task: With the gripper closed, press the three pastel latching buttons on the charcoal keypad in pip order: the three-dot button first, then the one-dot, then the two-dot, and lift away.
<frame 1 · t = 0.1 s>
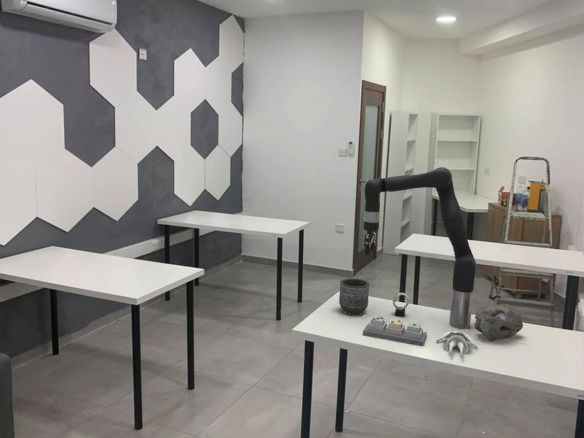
hand: (369, 252, 253), 29 cm above the table, tool pointing down, fingers open, 8 cm apart
watch: (399, 315, 253), on the table
fossil: (495, 337, 230), on the table
planter: (353, 311, 255), on the table
keypad: (394, 335, 227), on the table
figurine: (456, 348, 217), on the table
button two: (395, 325, 226), point 5 cm above the table, slide at 0.0 cm
button one: (414, 328, 223), point 5 cm above the table, slide at 0.0 cm
button three: (377, 322, 229), point 5 cm above the table, slide at 0.0 cm
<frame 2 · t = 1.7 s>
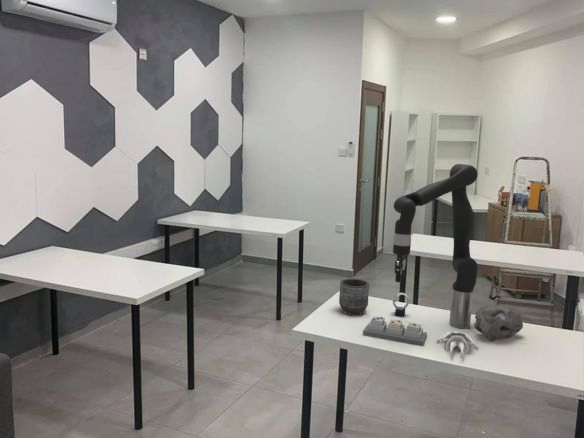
hand: (399, 280, 229), 23 cm above the table, tool pointing down, fingers open, 5 cm apart
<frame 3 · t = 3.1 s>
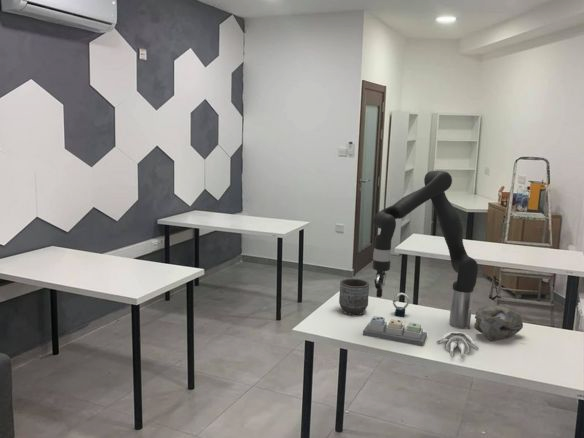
hand: (379, 296, 227), 17 cm above the table, tool pointing down, fingers closed
nothing on the table moved.
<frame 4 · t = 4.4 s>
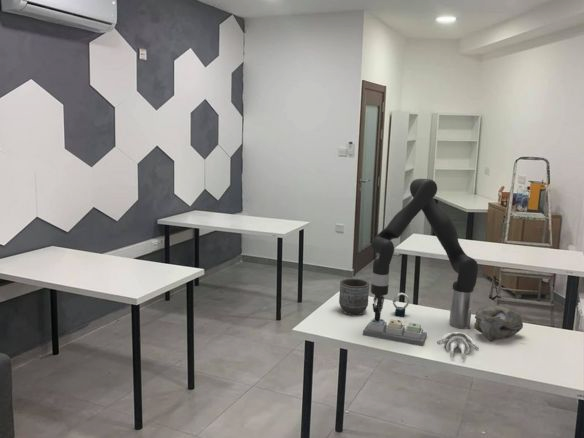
hand: (377, 320, 229), 6 cm above the table, tool pointing down, fingers closed
button three: (377, 324, 229), point 4 cm above the table, slide at 1.0 cm, touching gripper, keypad
everything else where it was.
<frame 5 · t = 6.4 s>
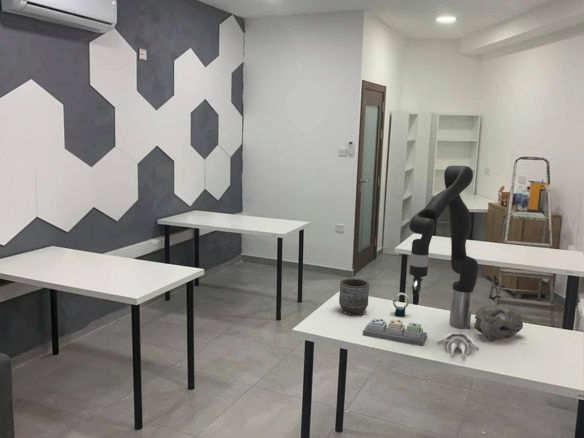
hand: (415, 302, 221), 17 cm above the table, tool pointing down, fingers closed
button three: (377, 324, 229), point 4 cm above the table, slide at 1.0 cm, touching keypad
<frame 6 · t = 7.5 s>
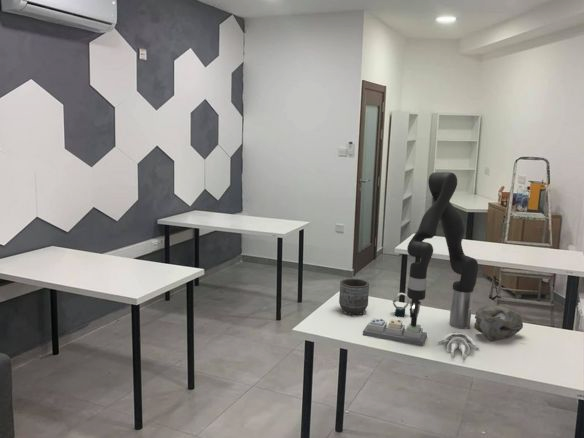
hand: (413, 325, 223), 6 cm above the table, tool pointing down, fingers closed
button one: (413, 329, 223), point 4 cm above the table, slide at 0.5 cm, touching gripper
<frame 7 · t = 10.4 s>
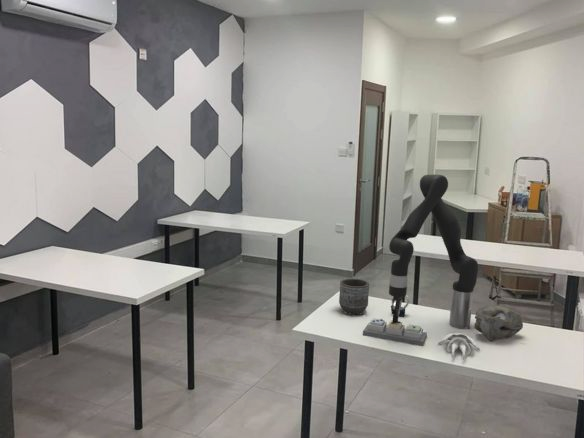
hand: (395, 322, 226), 6 cm above the table, tool pointing down, fingers closed
button two: (395, 326, 226), point 4 cm above the table, slide at 0.5 cm, touching gripper
button one: (413, 330, 223), point 4 cm above the table, slide at 1.0 cm, touching keypad
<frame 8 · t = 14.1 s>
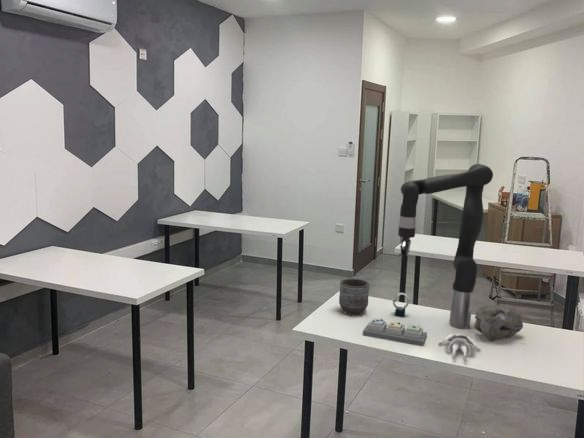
hand: (404, 262, 237), 29 cm above the table, tool pointing down, fingers closed
button two: (395, 327, 226), point 4 cm above the table, slide at 1.0 cm, touching keypad
at the end: button three slide at 1.0 cm; button one slide at 1.0 cm; button two slide at 1.0 cm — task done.
